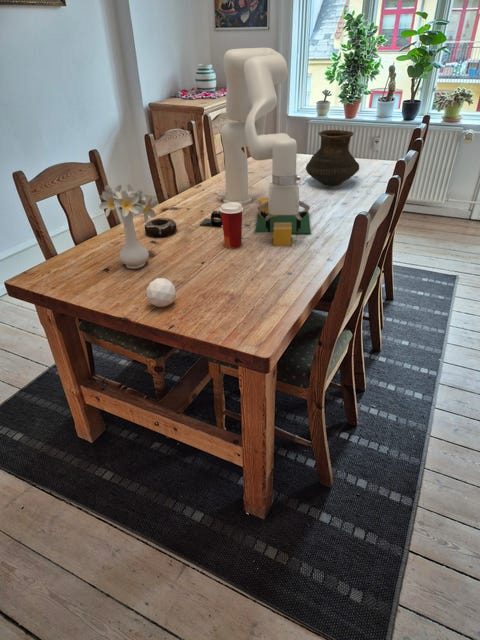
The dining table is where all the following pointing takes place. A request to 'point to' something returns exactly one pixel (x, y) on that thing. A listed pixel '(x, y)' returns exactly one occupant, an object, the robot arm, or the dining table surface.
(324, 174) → the ceramic pot
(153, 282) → the geometric ball
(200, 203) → the dining table surface
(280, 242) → the yellow block
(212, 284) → the dining table surface
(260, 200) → the yellow block
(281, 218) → the towel
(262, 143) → the robot arm
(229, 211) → the paper cup
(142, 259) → the flower vase
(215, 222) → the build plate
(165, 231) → the donut
